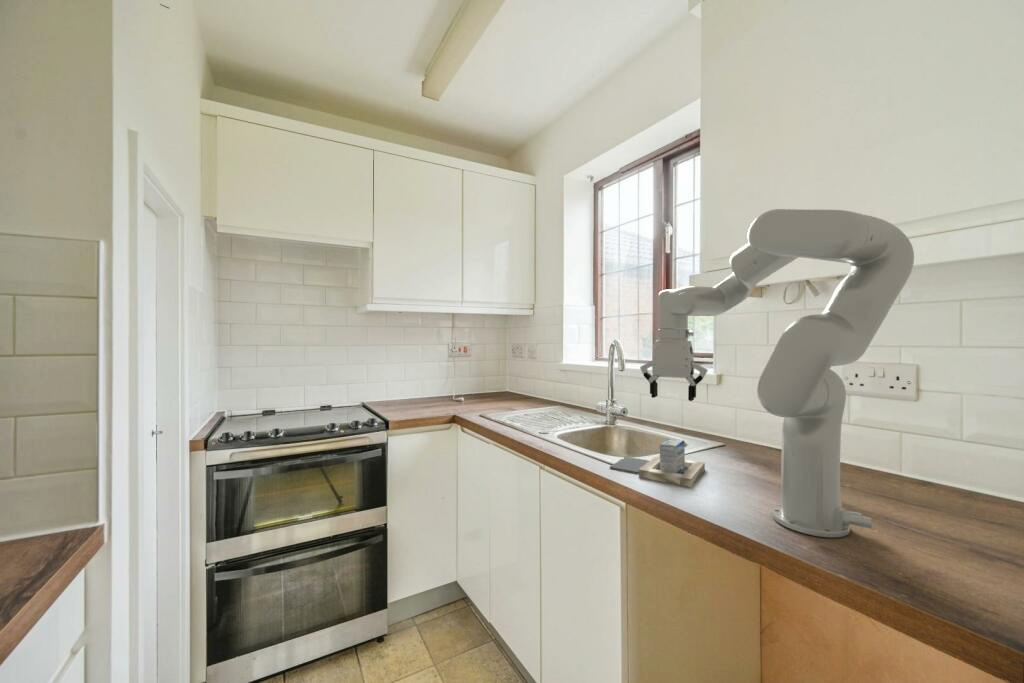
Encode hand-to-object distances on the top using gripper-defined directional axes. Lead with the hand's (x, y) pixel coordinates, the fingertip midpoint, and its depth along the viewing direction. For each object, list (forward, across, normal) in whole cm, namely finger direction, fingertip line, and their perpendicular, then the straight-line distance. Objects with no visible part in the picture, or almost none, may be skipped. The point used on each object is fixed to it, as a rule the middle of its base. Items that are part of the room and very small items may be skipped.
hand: (672, 398), depth 113 cm
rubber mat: (+20, +11, 0) cm, 23 cm away
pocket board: (+20, 0, 0) cm, 20 cm away
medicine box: (+21, 0, 0) cm, 21 cm away
